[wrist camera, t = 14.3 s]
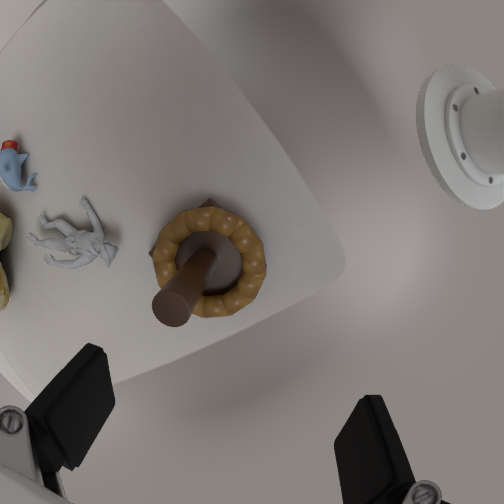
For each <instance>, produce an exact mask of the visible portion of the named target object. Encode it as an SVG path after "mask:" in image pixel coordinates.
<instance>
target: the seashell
mask: <svg viewBox="0 0 504 504" xmlns="http://www.w3.org/2000/svg"><path fill="white" fill-rule="evenodd" d="M12 232H13V224H12V220H11V219H10V218H7V217H6V216H5V215H3V214H2V213H1V212H0V251H1V250H3V249H5V248H6V247H7V245H8V244H9V242H10V239H11V237H12ZM9 293H10V291H9V287H8V282H7V278H6V274H5V272H4V270H3V268H2V264H1V262H0V311H1V310H3V309H5V307H6V305H7V303H8V301H9Z"/></svg>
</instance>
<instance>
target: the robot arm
mask: <svg viewBox="0 0 504 504" xmlns="http://www.w3.org/2000/svg"><path fill="white" fill-rule="evenodd" d="M445 126H446V133H447V138H448V142H449V145H450V148H451V151H452V153H453V155H454V158H455V160H456V162H457V163H458V165H459V167H460V168H461V170H462V171H463V172H464V173H465V175H466V176H467V177H468V178H469V179H471V180H472V181H473V182H475V183H477V184H478V185H482V186H488V187H493V186H496V185H498V184H500V183H501V182H502V181H503V180H504V87H503V88H500V89H496V90H492V91H488V92H487V91H485V90H484V89H483V88H481V87H479V86H476V85H472V84H467V85H462V86H460V87H457V88H456V89H455V90H453V92H452V93H451V94H450V96H449V98H448V101H447V103H446V109H445ZM114 406H115V397H114V392H113V387H112V382H111V377H110V371H109V365H108V359H107V354H106V353H104V351H103V348H101V347H99V346H96V345H93V344H91V343H87V344H86V345H85V346H84V347H83V348H82V349H81V350H80V351H79V352H78V353H77V354H76V355H75V356H74V358H73V359H72V360H71V361H70V362H69V363H68V364H67V365H66V366H65V367H64V368H63V369H62V370H61V371H60V372H59V373H58V374H57V375H56V376H55V377H54V378H53V380H52V381H51V382H50V383H49V384H48V385H47V386H46V387H45V388H44V390H43V391H42V392H41V393H40V394H39V395H38V396H37V397H36V399H35V400H34V401H33V402H32V403H31V404H30V406H29V407H28V408H27V409H26V410H25V411H22V410H21V409H20V408H18V407H16V406H4V407H2V408H1V409H0V504H73V503H71V502H69V501H68V500H67V497H66V494H65V491H64V488H63V484H62V481H61V478H60V474H59V470H60V469H61V467H62V466H64V467H65V468H67V469H69V470H71V471H73V469H74V468H75V467H79V466H80V464H81V463H82V461H83V459H84V457H85V456H86V454H87V452H88V450H89V449H90V447H91V445H92V444H93V442H94V440H95V438H96V437H97V435H98V433H99V432H100V430H101V428H102V426H103V425H104V423H105V421H106V420H107V418H108V416H109V415H110V413H111V411H112V410H113V408H114ZM334 450H335V456H336V462H337V467H338V473H339V480H340V486H341V492H342V498H343V504H450V503H448V502H445V501H443V500H441V498H442V494H441V490H440V488H439V487H438V486H437V485H436V484H435V483H433V482H432V481H428V480H421V481H419V482H416V481H415V478H414V475H413V473H412V470H411V467H410V464H409V462H408V459H407V456H406V454H405V451H404V449H403V446H402V443H401V440H400V438H399V435H398V433H397V431H396V429H395V427H394V424H393V422H392V419H391V417H390V415H389V412H388V410H387V407H386V405H385V403H384V400H383V398H382V396H381V395H365V396H364V397H363V398H362V399H360V400H359V401H358V403H357V405H356V406H355V408H354V410H353V412H352V413H351V415H350V417H349V418H348V420H347V422H346V423H345V425H344V427H343V428H342V430H341V432H340V433H339V435H338V436H337V438H336V439H335V442H334Z"/></svg>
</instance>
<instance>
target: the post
mask: <svg viewBox="0 0 504 504" xmlns="http://www.w3.org/2000/svg"><path fill="white" fill-rule="evenodd" d="M210 206H214V207H218V208H220V207H219V206H218V205H217V203H216V202H215V201H214V200H213V199H212V198H209V199H208V200H207V201H206V202H204V203H203V204H202V205H201V206H200V207H199V208H203V207H210ZM220 209H221V208H220ZM155 247H156V246H155ZM155 247H154V248H153V249H152V250H151V251H150V252H149V255H150V256H151V257H152V258H153V254H154V250H155ZM175 263H176V268H177V272H176V273H175V274H174V275H173V276H172V278H171V279H170V280H169V281H168V282H167V283H166V284H165V285H164V286H163V288H162V289H161V290H160V291H159V292H158V293H157V294H156V296H155V297H154V299H153V302H152V309H153V312H154V315H155V316H156V318H157V319H158V320H159V321H160V322H161V323H163V324H165V325H167V326H170V327H179V326H182V325H184V324H185V323H186V322H187V321H188V320H189V318H190V316H191V314H192V312H193V310H194V308H195V306H196V304H197V302H198V300H199V299H200V297H201V295H205V296H213V295H223V294H225V293H226V292H227V291H229V290H230V289H232V288H233V287H235V286H236V285H237V283H238V280H239V278H240V276H241V273H242V271H243V268H242V261H241V255H240V252H239V250H238V249H237V248H236V247H235V245H234V244H233V243H232V242H231V240H230V239H229V238H228V237H225V236H223V235H220V234H218V233H216V232H213V231H211V230H210V231H202V232H195V233H192V234H191V235H189V236H188V237H187V238H186V239H185V240H183V241H182V242H181V243H180V244H179V247H178V250H177V253H176V256H175ZM265 264H266V263H265ZM266 268H267V265H266Z"/></svg>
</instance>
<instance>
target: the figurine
mask: <svg viewBox="0 0 504 504" xmlns="http://www.w3.org/2000/svg"><path fill="white" fill-rule="evenodd" d="M16 150H17V142H15V141H13V140H8V141H5V142H3V143H2V148H1V151H0V180H1V182H2V184H3V185H4V186H5V187H6V188H8V189H10V190H13V191H21V190H31V191H33V190H34V189H35V187H36V185H35V186H30V183H31V181H32V178H34V177H35V176H36V175H37V174H35V175H33V176H31V177H29V178H28V180H27V183H26V186H25V187H24V188H23V187H22V180H21V166H22V164H23V162H24V161H25V159H26V158H27V157H28V156H29V155H28V154H17V152H16Z"/></svg>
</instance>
